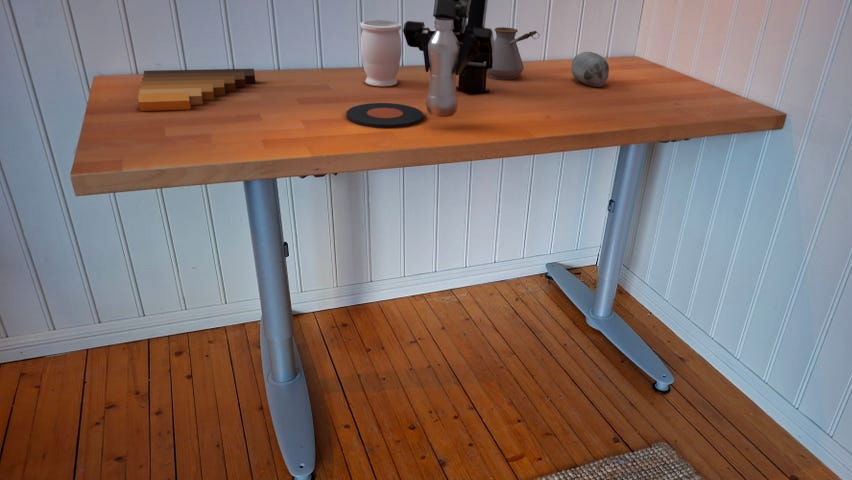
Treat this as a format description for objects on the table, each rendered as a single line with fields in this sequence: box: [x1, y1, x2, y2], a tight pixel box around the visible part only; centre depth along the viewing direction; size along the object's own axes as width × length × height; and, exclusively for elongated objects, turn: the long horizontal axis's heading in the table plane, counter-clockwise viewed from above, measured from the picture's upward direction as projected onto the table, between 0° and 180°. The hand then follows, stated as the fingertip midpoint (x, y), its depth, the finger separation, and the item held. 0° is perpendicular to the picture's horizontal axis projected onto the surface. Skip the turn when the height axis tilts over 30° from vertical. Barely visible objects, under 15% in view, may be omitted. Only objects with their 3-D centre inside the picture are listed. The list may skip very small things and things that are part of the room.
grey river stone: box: [570, 51, 610, 88], centre depth 191 cm, size 14×10×10 cm
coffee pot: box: [484, 26, 540, 80], centre depth 186 cm, size 21×12×15 cm, turn 28°
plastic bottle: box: [425, 17, 460, 118], centre depth 142 cm, size 6×7×20 cm
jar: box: [359, 19, 402, 87], centre depth 175 cm, size 11×10×15 cm
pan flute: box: [137, 68, 256, 112], centre depth 158 cm, size 25×3×25 cm
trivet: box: [346, 102, 424, 129], centre depth 152 cm, size 17×17×1 cm
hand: (441, 72), depth 141 cm, fingers closed on plastic bottle, 6 cm apart
